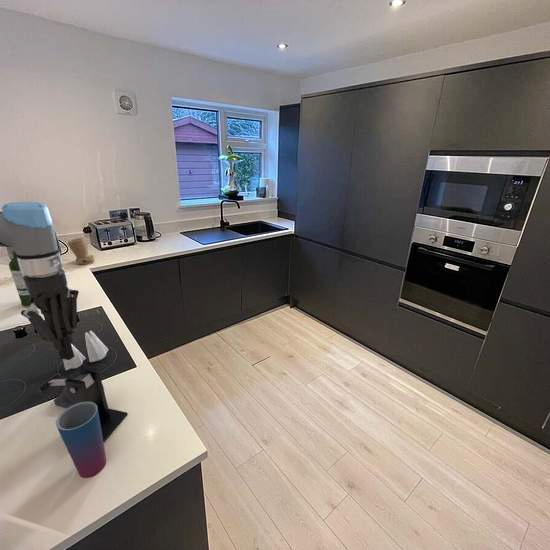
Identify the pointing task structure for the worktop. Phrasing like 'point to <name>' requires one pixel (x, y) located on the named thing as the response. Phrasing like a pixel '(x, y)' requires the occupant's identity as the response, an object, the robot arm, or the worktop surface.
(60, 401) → the button housing
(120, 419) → the bracket
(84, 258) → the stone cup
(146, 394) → the worktop surface
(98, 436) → the cup
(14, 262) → the wine bottle
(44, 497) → the worktop surface
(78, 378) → the toaster lever
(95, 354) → the shaker set
